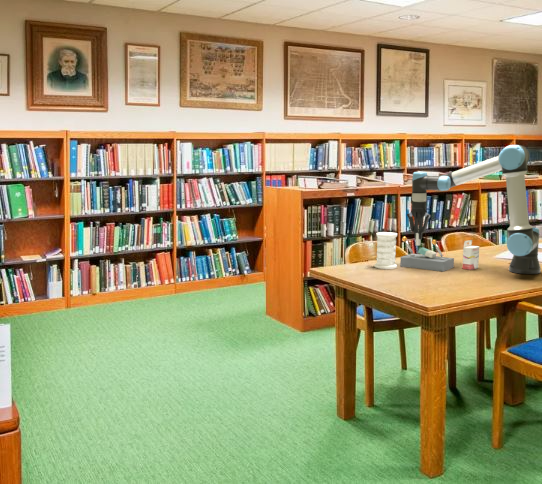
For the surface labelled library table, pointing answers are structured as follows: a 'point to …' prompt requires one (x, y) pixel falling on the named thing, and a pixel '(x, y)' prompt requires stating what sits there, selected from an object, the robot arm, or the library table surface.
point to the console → (427, 262)
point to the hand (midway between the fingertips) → (418, 245)
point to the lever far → (407, 244)
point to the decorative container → (386, 250)
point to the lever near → (436, 246)
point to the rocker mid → (427, 252)
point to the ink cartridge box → (470, 256)
